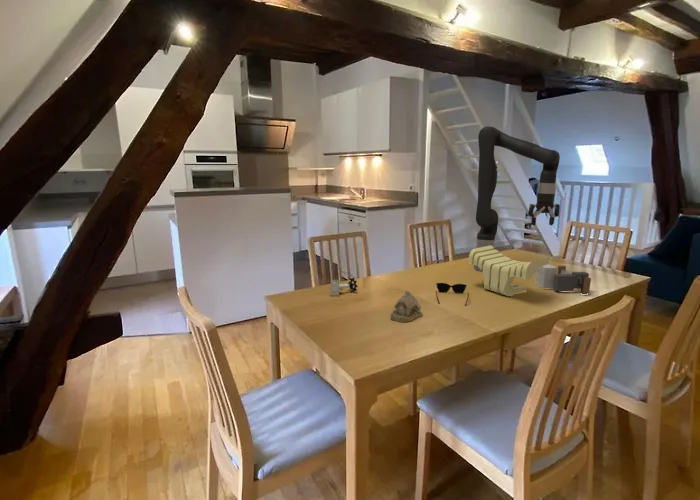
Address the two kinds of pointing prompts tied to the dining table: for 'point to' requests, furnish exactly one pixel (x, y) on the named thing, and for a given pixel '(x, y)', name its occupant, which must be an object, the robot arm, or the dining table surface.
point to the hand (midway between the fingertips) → (542, 225)
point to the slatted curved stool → (502, 270)
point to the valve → (342, 286)
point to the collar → (568, 281)
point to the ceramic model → (406, 308)
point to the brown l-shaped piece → (581, 280)
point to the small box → (545, 276)
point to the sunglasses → (456, 288)
